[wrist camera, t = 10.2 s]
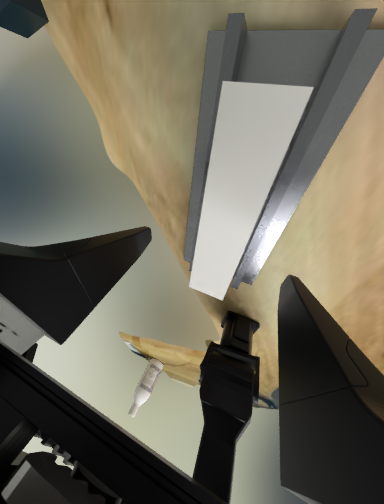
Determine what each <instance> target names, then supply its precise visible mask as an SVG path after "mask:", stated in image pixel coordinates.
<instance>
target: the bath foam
mask: <svg viewBox="0 0 384 504" xmlns="http://www.w3.org/2000/svg"><path fill="white" fill-rule="evenodd" d="M162 368H163V364H162V363H161V362H160V361H159V360H157V359H155V358H152V359H151V361H150V363H149V364H148V366H147V368H146V370H145V372H144V374H143V376H142V378H141V380H140V381H139V383H138V385H137V387H136V390H135V395H134V403H133V405H132V407H131V409H130V411H129V413H128V414H129V415H130V416H132V417H133V418H134V417H135V415H136V412H137V410H138V408H139V406H140V405H141V404H143V403H144V402H145V401H146V400H147V399H148V397H149V396H150V394H151V392H152V390H153V387H154V385H155V383H156V381H157V379H158V377H159V374H160V373H161V370H162Z"/></svg>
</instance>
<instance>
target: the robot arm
mask: <svg viewBox="0 0 384 504" xmlns="http://www.w3.org/2000/svg"><path fill="white" fill-rule="evenodd" d="M151 239H152V236H151V229H150V228H149V227H146V226H144V227H139V228H134V229H129V230H124V231H120V232H115V233H110V234H106V235H100V236H95V237H92V238H86V239H81V240H75V241H70V242H63V243H57V244H50V245H44V246H36V247H27V246H19V245H14V244H8V243H3V242H0V504H230V500H231V491H232V481H233V471H234V462H235V452H236V443H237V442H238V440H239V439H240V437H241V436H242V434H243V433H244V431H245V429H246V428H247V426H248V425H249V423H250V420H251V415H252V404H254V405H256V406H258V397H259V364H260V357H257V356H253V355H251V351H252V338H253V334H254V333H255V332H256V331H257V329H258V328H259V327H260V324H259V323H257V322H254V321H252V320H250V319H247V318H245V317H243V316H240V315H238V314H235V313H233V312H231V311H228V312H227V314H226V316H225V318H224V320H223V322H222V324H221V327H222V328H224V329H223V333H222V338H221V342H220V345H219V344H216V343H214V342H212V341H211V343H210V345H209V347H208V349H207V352H206V354H205V357H204V359H203V361H202V363H201V364H200V370H201V381H202V383H201V387H200V399H201V403H202V410H203V416H204V427H203V432H202V437H201V442H200V446H199V451H198V455H197V459H196V464H195V468H194V473H193V478H191V477H190V476H188V475H187V474H186V473H184V472H183V471H182V470H180V469H179V468H177V467H176V466H174V465H173V464H172V463H170V462H169V461H168V460H166V459H165V458H163V457H162V456H161V455H159V454H158V453H156V452H155V451H154V450H152V449H151V448H149V447H148V446H147V445H145V444H144V443H142V442H141V441H140V440H138V439H137V438H135V437H134V436H133V435H131V434H130V433H128V432H127V431H126V430H124V429H123V428H122V427H120V426H119V425H117V424H116V423H114V422H113V421H112V420H110V419H109V418H108V417H106V416H105V415H104V414H102V413H101V412H99V411H98V410H97V409H95V408H94V407H92V406H91V405H90V404H88V403H87V402H85V401H84V400H83V399H81V398H80V397H78V396H77V395H76V394H74V393H73V392H72V391H70V390H69V389H67V388H66V387H65V386H63V385H62V384H60V383H59V382H57V381H56V380H55V379H53V378H52V377H51V376H49V375H47V374H46V373H45V372H44V371H42V370H41V369H39V368H38V367H37V366H35V365H34V364H33V363H32V362H33V359H34V356H35V352H36V349H37V346H38V344H37V343H36V342H37V341H38V340H39V339H40V338H42V337H43V336H44V335H46V336H47V337H49V338H50V339H52V340H53V341H55V342H57V343H58V344H60V345H62V344H63V343H64V342H65V341H66V340H67V339H68V337H69V336H70V335H71V334H72V333H73V332H74V331H75V329H76V328H77V327H78V326H79V325H80V324H81V323H82V322H83V320H84V319H85V318H86V317H87V316H88V315H89V314H90V312H91V311H92V310H93V309H94V308H95V307H96V306H97V304H98V303H99V302H100V301H101V300H102V299H103V298H104V296H105V295H106V294H107V293H108V292H109V291H110V290H111V288H113V286H114V285H115V284H116V283H117V282H118V281H119V280H120V278H121V277H122V276H123V275H124V274H125V273H126V272H127V271H128V269H129V268H130V267H131V266H132V265H133V264H134V263H135V262H136V260H137V259H138V258H139V257H140V256H141V254H142V253H143V251H144V250H145V248H146V247H147V246H148V244H149V243H150V241H151ZM278 362H279V404H280V405H279V426H280V477H281V478H280V479H281V486H282V487H284V488H285V489H287V490H288V491H290V492H291V493H293V494H295V495H296V496H298V497H299V498H301V499H302V500H304V501H305V502H307V503H309V504H384V375H383V374H382V373H381V372H380V371H379V370H378V369H377V368H376V367H375V366H374V365H373V363H372V362H371V361H370V360H369V359H368V358H367V357H366V356H365V355H364V353H363V352H362V351H361V350H360V349H359V348H358V347H357V345H356V344H355V343H354V342H353V341H352V340H351V339H350V338H349V336H348V335H347V334H346V333H345V332H344V330H343V329H342V328H341V327H340V326H339V325H338V323H337V322H336V321H335V320H334V319H333V318H332V316H331V315H330V314H329V313H328V312H327V311H326V309H325V308H324V307H323V306H322V305H321V304H320V302H319V301H318V300H317V299H316V298H315V297H314V296H313V294H312V293H311V292H310V291H309V290H308V289H307V287H306V286H305V285H304V284H303V283H302V282H301V280H300V279H299V278H298V277H296V276H293V275H289V276H287V278H286V279H285V280H284V282H283V283H282V284H281V287H280V295H279V303H278ZM254 371H255V373H254ZM33 436H34V437H38V438H42V439H43V440H42V442H41V443H42V444H43V445H45V446H49V447H52V448H53V450H52V453H48V452H43V451H42V452H35V453H29V454H28V453H25V452H23V451H22V450H23V449H24V448H25V446H26V445H27V444H28V443H29V441H30V440H31V439H32V437H33ZM56 455H58V456H62V457H64V460H63V463H64V464H66V465H71V466H74V469H73V470H72V469H71V468H69V467H68V466H62V465H57V464H56V463H55V460H56V459H57V456H56Z"/></svg>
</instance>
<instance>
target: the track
mask: <svg viewBox="0 0 384 504" xmlns="http://www.w3.org/2000/svg"><path fill="white" fill-rule="evenodd" d="M376 10H377V9H355V10H354V12H353V13H352V15H351V16H350V18H349V19H348V21H347V22H346V24H345V25H344V27H343V28H342V30H250V31H247V26H246V21H245V15H244V13H234V14H228V21H227V27H226V31H208V39H207V48H206V57H205V67H204V76H203V85H202V94H201V103H200V112H199V121H198V131H197V140H196V149H195V158H194V167H193V176H192V186H191V195H190V204H189V213H188V222H187V231H186V240H185V250H184V259H183V260H186V261H188V262H191V263H190V270H189V271H191V272H192V266H193V259H194V253H195V247H196V241H197V235H198V229H199V223H200V217H201V211H202V205H203V198H204V192H205V186H206V180H207V174H208V168H209V162H210V156H211V150H212V144H213V138H214V131H215V125H216V119H217V113H218V107H219V101H220V95H221V89H222V83H223V81H230V82H245V83H260V84H276V85H291V86H306V87H314V88H313V90H312V93H311V95H310V97H309V100H308V102H307V104H306V107H305V109H304V111H303V114H302V116H301V118H300V121H299V123H298V125H297V128H296V130H295V132H294V135H293V137H292V139H291V142H290V144H289V146H288V149H287V151H286V153H285V156H284V158H283V160H282V163H281V165H280V167H279V170H278V172H277V175H276V177H275V179H274V182H273V184H272V186H271V189H270V191H269V193H268V196H267V198H266V200H265V203H264V205H263V207H262V210H261V212H260V214H259V217H258V219H257V221H256V224H255V226H254V228H253V231H252V233H251V235H250V238H249V240H248V242H247V245H246V247H245V249H244V252H243V254H242V256H241V259H240V261H239V263H238V266H237V268H236V270H235V273H234V275H233V277H232V278H233V280H232V284H231V287H232V288H235V289H238V287H239V285H240V283H241V281H242V282H245V283H248V284H250V285H252V283H253V281H254V280H255V278H256V276H257V274H258V273H259V271H260V269H261V268H262V266H263V264H264V262H265V261H266V259H267V257H268V255H269V254H270V252H271V250H272V249H273V247H274V245H275V243H276V242H277V240H278V238H279V236H280V235H281V233H282V231H283V230H284V228H285V226H286V224H287V223H288V221H289V219H290V217H291V216H292V214H293V212H294V211H295V209H296V207H297V205H298V204H299V202H300V200H301V198H302V197H303V195H304V193H305V192H306V190H307V188H308V186H309V185H310V183H311V181H312V179H313V178H314V176H315V174H316V173H317V171H318V169H319V167H320V166H321V164H322V162H323V160H324V159H325V157H326V155H327V154H328V152H329V150H330V148H331V147H332V145H333V143H334V141H335V140H336V138H337V136H338V135H339V133H340V131H341V129H342V128H343V126H344V124H345V122H346V121H347V119H348V117H349V116H350V114H351V112H352V110H353V109H354V107H355V105H356V103H357V102H358V100H359V98H360V97H361V95H362V93H363V91H364V90H365V88H366V86H367V84H368V83H369V81H370V79H371V78H372V76H373V74H374V72H375V71H376V69H377V67H378V65H379V64H380V62H381V60H382V59H383V57H384V29H367V28H368V26H369V24H370V22H371V20H372V18H373V16H374V14H375V12H376Z"/></svg>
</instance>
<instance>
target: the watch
mask: <svg viewBox="0 0 384 504" xmlns="http://www.w3.org/2000/svg"><path fill="white" fill-rule="evenodd" d="M48 22H49V21H48V18H47V16H46V13H45V10H44V8H43V5H42V3H41V0H0V27H2V28H5V29H7V30H9V31H12V32H14V33H16V34H19V35H21V36H23V37H26V38H29V37H30V36H31V35H33V34H34V33H35V32H36V31H38V30H39V29H40V28H41V27H43V26H44V25H45V24H46V23H48Z"/></svg>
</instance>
